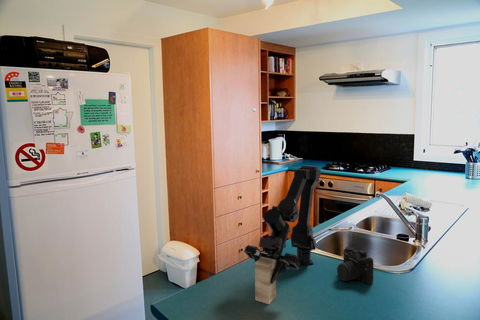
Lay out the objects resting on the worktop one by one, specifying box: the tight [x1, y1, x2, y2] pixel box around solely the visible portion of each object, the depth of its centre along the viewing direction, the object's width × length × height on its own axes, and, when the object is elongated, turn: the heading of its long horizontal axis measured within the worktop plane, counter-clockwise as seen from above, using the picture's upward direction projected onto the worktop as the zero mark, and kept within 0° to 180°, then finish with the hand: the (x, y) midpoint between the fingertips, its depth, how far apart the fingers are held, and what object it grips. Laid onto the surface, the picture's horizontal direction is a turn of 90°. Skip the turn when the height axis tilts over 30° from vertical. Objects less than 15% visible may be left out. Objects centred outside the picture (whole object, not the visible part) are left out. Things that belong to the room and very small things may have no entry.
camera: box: [336, 246, 375, 285], centre depth 133 cm, size 14×11×10 cm
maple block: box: [254, 257, 277, 305], centre depth 118 cm, size 5×5×13 cm
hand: (263, 281), depth 117 cm, fingers closed on maple block, 5 cm apart
